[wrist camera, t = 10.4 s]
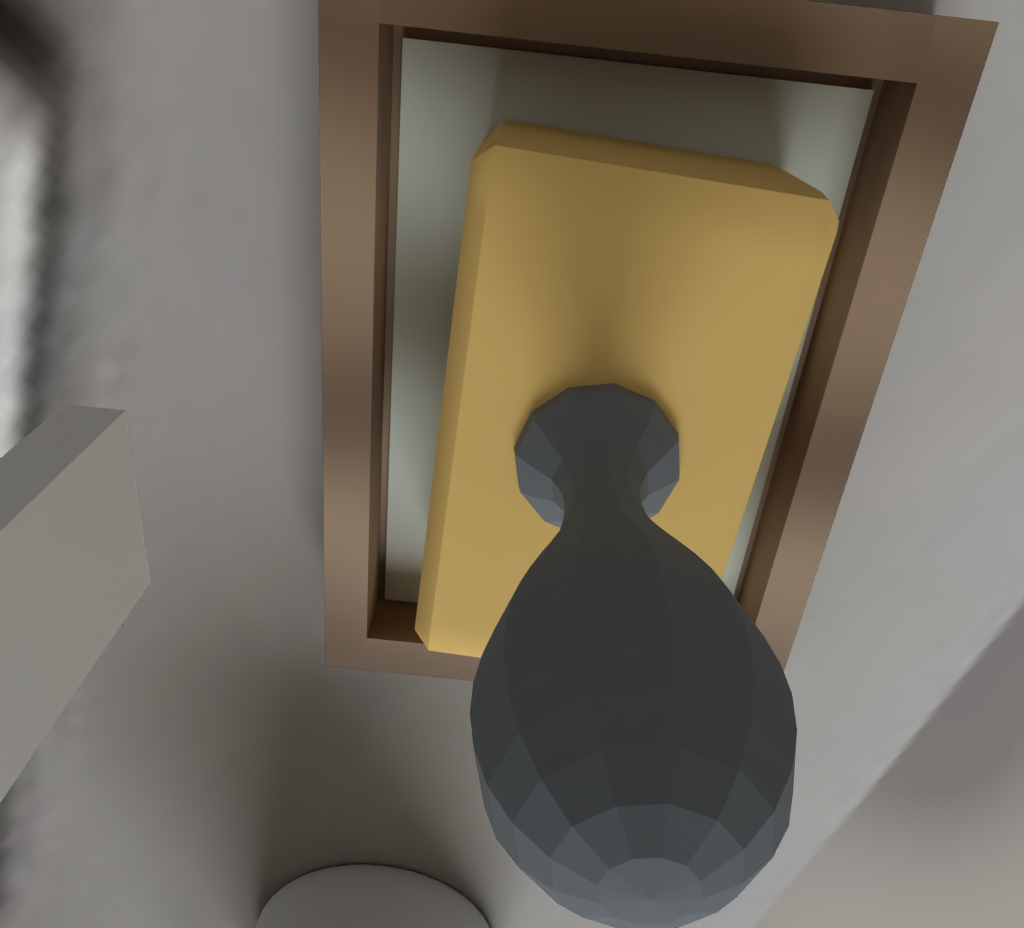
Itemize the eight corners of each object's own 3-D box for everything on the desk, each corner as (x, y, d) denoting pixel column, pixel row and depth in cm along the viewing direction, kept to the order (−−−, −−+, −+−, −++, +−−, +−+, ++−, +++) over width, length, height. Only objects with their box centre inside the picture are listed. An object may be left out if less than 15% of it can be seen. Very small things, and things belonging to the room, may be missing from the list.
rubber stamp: (487, 116, 15) (361, 301, 5) (789, 166, 16) (1313, 450, 5) (432, 553, 20) (304, 1143, 9) (666, 586, 20) (800, 1202, 10)
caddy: (350, -42, 15) (318, -55, 13) (933, 23, 15) (998, 22, 13) (347, 603, 22) (325, 666, 20) (748, 643, 22) (771, 710, 20)
